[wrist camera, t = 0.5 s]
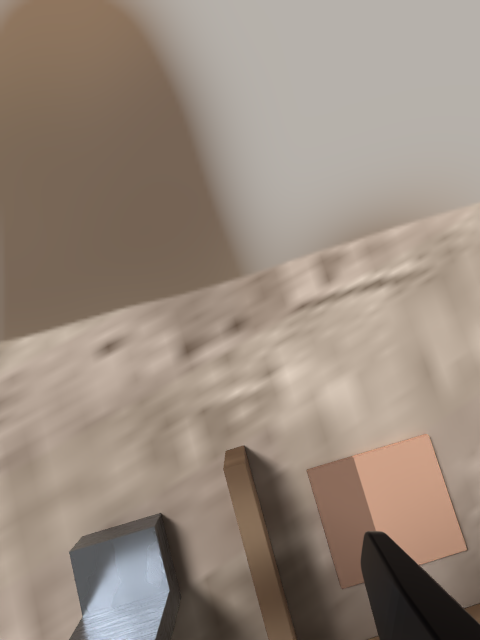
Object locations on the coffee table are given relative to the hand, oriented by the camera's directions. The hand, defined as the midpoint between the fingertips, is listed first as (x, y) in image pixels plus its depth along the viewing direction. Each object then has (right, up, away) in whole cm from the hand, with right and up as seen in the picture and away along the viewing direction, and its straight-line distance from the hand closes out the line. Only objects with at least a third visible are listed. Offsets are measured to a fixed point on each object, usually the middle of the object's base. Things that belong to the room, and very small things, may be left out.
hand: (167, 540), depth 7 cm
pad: (+11, -7, +12) cm, 17 cm away
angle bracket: (-5, -10, +12) cm, 16 cm away
